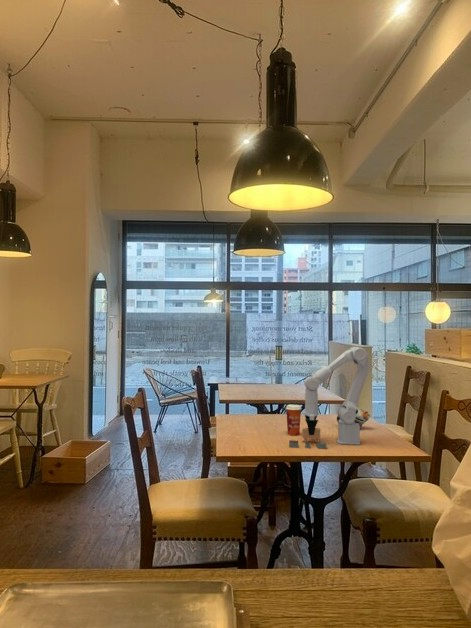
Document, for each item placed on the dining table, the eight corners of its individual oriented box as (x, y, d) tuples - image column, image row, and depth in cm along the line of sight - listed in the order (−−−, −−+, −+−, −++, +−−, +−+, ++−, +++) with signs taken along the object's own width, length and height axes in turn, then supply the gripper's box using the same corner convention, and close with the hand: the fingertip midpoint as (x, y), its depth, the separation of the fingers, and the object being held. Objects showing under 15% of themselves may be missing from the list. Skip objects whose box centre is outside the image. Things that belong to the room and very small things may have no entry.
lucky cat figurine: (359, 424, 236) (370, 403, 231) (364, 438, 225) (375, 416, 220) (333, 416, 236) (343, 395, 231) (336, 429, 224) (347, 408, 219)
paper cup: (289, 436, 208) (289, 407, 208) (283, 433, 215) (283, 404, 215) (304, 435, 210) (304, 406, 210) (297, 432, 217) (297, 404, 218)
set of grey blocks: (325, 446, 191) (325, 441, 191) (326, 448, 187) (326, 444, 187) (289, 444, 193) (289, 440, 193) (289, 447, 189) (289, 442, 189)
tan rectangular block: (319, 441, 199) (320, 428, 200) (320, 443, 196) (320, 429, 197) (302, 440, 200) (302, 427, 201) (302, 442, 197) (302, 429, 198)
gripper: (302, 400, 207) (302, 428, 206) (303, 405, 192) (302, 436, 192) (317, 400, 206) (317, 429, 205) (319, 406, 191) (318, 437, 191)
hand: (311, 432), depth 199 cm, fingers open, 7 cm apart
